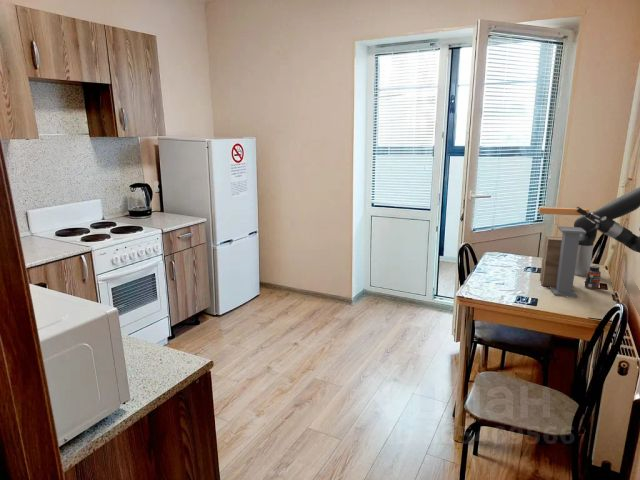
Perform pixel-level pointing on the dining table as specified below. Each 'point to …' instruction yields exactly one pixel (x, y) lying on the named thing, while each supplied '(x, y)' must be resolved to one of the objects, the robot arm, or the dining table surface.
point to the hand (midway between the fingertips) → (577, 208)
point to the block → (560, 211)
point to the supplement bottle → (592, 278)
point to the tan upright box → (550, 260)
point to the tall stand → (567, 261)
